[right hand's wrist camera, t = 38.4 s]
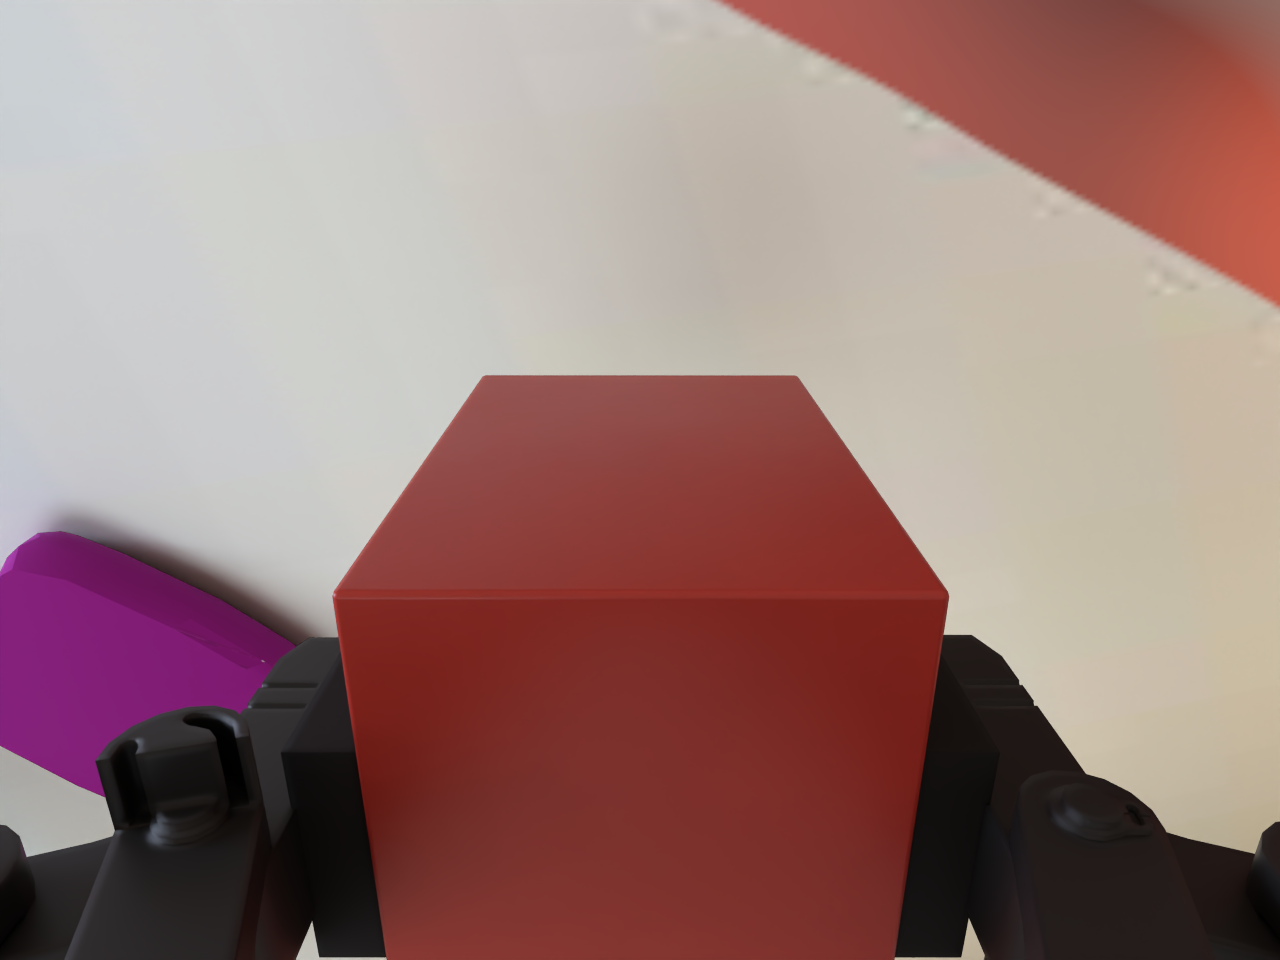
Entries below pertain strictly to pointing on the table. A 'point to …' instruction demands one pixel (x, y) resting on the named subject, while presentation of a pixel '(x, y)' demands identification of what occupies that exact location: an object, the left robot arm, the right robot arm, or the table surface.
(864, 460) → the table surface
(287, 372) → the table surface
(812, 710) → the block
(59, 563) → the spray bottle
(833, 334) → the table surface
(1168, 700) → the table surface
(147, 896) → the right robot arm
